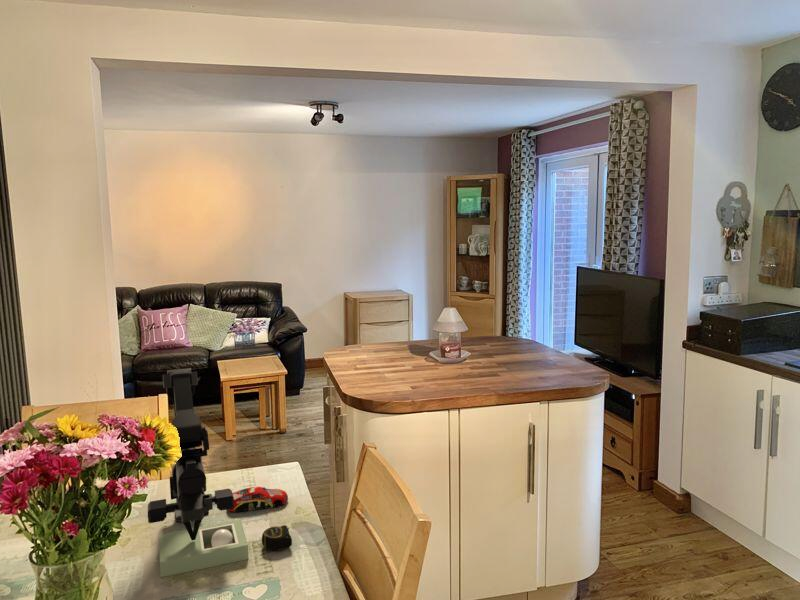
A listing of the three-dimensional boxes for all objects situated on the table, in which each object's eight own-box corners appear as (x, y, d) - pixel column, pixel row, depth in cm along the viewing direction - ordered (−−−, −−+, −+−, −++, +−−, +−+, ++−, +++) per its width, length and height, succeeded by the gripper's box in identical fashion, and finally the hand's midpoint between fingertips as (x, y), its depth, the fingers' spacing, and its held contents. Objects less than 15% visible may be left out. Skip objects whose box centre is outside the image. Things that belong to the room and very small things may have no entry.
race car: (287, 497, 172) (286, 480, 171) (289, 507, 166) (288, 490, 165) (227, 504, 168) (227, 487, 167) (227, 515, 161) (226, 497, 161)
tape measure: (292, 551, 143) (292, 536, 143) (263, 556, 141) (262, 541, 141) (289, 537, 150) (288, 522, 149) (260, 541, 148) (260, 527, 147)
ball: (212, 524, 145) (233, 525, 147) (208, 544, 145) (229, 545, 147) (214, 535, 140) (236, 535, 142) (210, 555, 140) (231, 555, 142)
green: (160, 548, 145) (159, 534, 145) (241, 532, 152) (240, 519, 151) (160, 577, 133) (159, 562, 133) (248, 559, 140) (247, 544, 139)
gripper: (145, 497, 128) (149, 566, 130) (235, 483, 135) (238, 548, 137) (146, 477, 139) (150, 541, 141) (230, 464, 145) (233, 525, 147)
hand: (193, 539), depth 141 cm, fingers closed
